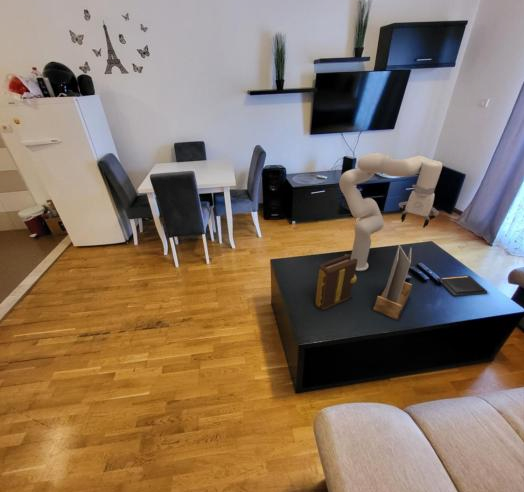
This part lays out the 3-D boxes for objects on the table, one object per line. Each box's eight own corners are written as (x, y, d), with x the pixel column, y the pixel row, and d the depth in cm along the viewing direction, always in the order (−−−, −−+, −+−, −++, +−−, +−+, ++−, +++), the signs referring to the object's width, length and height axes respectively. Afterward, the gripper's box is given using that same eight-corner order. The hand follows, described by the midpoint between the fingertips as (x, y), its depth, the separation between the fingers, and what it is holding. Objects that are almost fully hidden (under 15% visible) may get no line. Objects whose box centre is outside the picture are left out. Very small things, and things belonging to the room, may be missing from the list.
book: (322, 312, 141) (327, 273, 127) (312, 301, 147) (316, 263, 133) (355, 297, 149) (363, 259, 135) (344, 288, 156) (351, 251, 142)
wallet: (454, 293, 147) (437, 276, 160) (452, 296, 148) (436, 278, 161) (490, 291, 148) (470, 274, 161) (488, 294, 149) (469, 276, 162)
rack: (372, 309, 142) (376, 296, 137) (385, 289, 155) (389, 276, 149) (397, 320, 136) (402, 306, 130) (408, 297, 148) (413, 284, 143)
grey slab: (394, 311, 139) (410, 263, 122) (382, 308, 141) (397, 260, 124) (395, 294, 149) (411, 247, 132) (385, 291, 151) (398, 244, 134)
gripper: (401, 187, 125) (392, 221, 135) (444, 196, 116) (431, 232, 126) (406, 183, 130) (397, 216, 140) (448, 191, 121) (435, 225, 131)
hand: (413, 223), depth 133 cm, fingers open, 9 cm apart
